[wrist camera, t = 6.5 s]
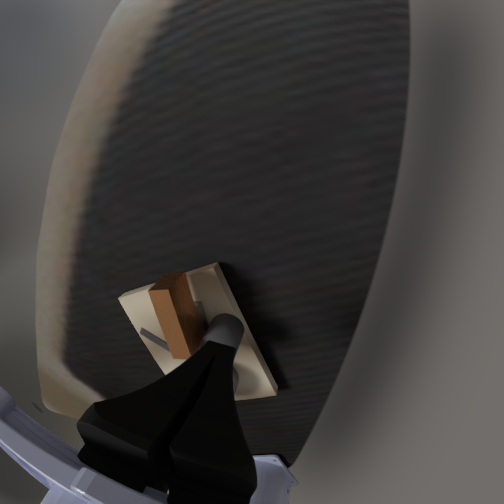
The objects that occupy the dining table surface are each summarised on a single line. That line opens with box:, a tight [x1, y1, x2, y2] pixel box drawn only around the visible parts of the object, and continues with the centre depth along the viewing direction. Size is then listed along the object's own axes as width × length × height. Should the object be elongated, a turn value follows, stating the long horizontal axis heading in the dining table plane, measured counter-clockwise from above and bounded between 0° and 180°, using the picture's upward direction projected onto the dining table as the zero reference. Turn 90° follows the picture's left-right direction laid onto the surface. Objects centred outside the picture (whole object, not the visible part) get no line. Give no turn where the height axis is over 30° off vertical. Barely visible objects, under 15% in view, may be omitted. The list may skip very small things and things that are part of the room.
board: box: [118, 262, 278, 400], centre depth 22 cm, size 12×9×1 cm
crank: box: [148, 272, 239, 395], centre depth 19 cm, size 12×4×3 cm, turn 11°
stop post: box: [200, 313, 244, 356], centre depth 19 cm, size 2×2×3 cm
